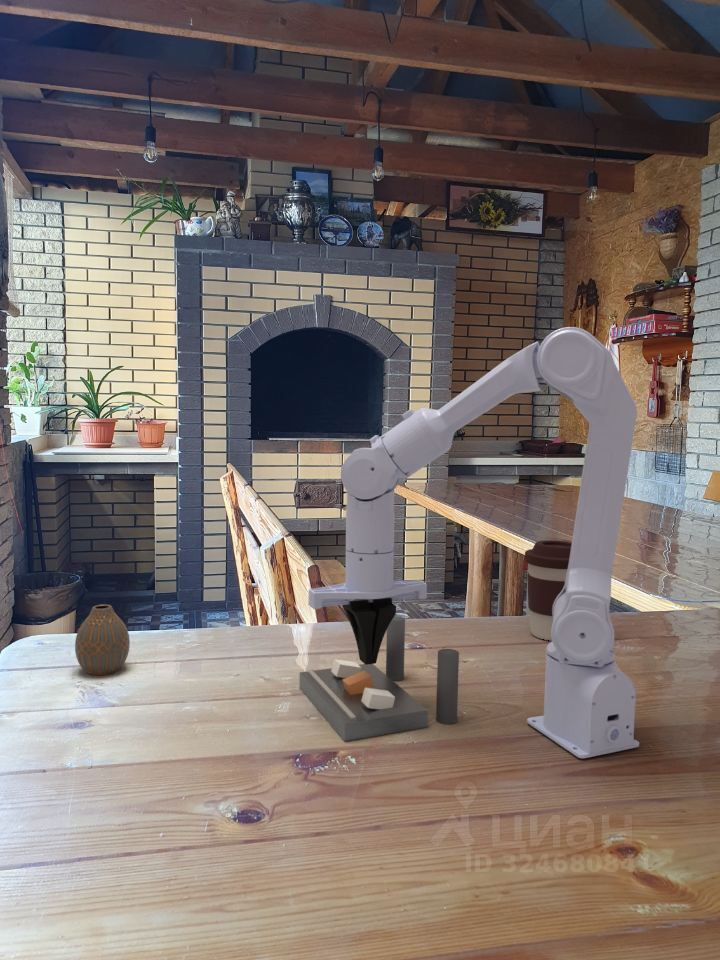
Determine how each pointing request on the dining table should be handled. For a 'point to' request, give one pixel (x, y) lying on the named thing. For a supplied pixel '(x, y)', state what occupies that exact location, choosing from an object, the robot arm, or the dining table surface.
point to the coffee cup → (545, 582)
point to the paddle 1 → (345, 668)
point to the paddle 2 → (377, 698)
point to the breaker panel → (361, 705)
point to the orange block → (358, 683)
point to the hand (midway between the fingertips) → (367, 661)
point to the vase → (102, 641)
